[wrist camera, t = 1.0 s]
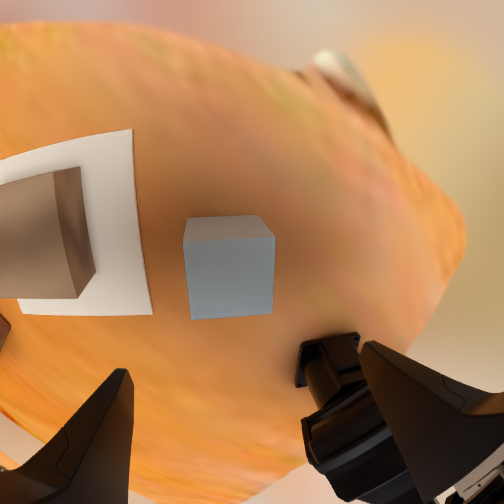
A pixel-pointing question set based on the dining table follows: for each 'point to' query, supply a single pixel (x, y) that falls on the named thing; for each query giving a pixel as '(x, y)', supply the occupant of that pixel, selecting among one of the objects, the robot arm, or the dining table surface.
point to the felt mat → (96, 222)
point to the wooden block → (3, 331)
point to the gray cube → (229, 266)
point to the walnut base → (44, 237)
